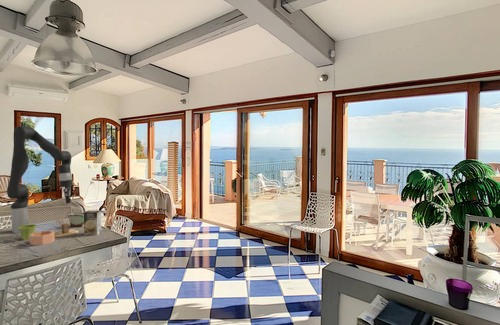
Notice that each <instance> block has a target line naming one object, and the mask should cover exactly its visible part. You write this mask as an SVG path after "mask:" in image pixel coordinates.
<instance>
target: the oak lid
mask: <svg viewBox="0 0 500 325" xmlns="http://www.w3.org/2000/svg"><path fill="white" fill-rule="evenodd" d="M78 231H79V229H78V230H77V229H70V223H62V224H61V230H59V231H56V232H54V233H55V238H63V237H68V238H70V237H69V236H72V237H74V236H73V235H76V234H78ZM76 236H77V235H76Z"/></svg>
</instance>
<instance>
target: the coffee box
mask: <svg viewBox="0 0 500 325" xmlns="http://www.w3.org/2000/svg"><path fill="white" fill-rule="evenodd" d="M101 212H102V211H101V210H86V211H84V212H83V213H84V226H83V232H84V233H83V236H98V235H100V234H102V213H101Z"/></svg>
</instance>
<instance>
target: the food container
mask: <svg viewBox="0 0 500 325" xmlns="http://www.w3.org/2000/svg"><path fill="white" fill-rule="evenodd" d="M67 216H68V220H69V228H71V227H72V228H84V212H74V213H69V214H68V215H67Z"/></svg>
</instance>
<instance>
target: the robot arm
mask: <svg viewBox="0 0 500 325" xmlns="http://www.w3.org/2000/svg"><path fill="white" fill-rule="evenodd" d="M26 140H30V141H33V142H35V143H36V144H37V145H38V146H39V148H40V149H41V150H42V151H44V152H46V154H47V153H48V154H49V155H50V156H51V157H52V158H53V159H54V160H55V161H57V162H61V164H60V165H58V168H57V169H58V170H57V171H58V179H59V187H60V188H63V190H62V192H63V195H64V199H65V203H66V204H70V203H71V188H70V187H72V186H73V185H74V184H73V177H72V176H73V175H72V173H71V172H72V171H71V163H72V155H71V152H70V151H68V150H60V148H59V147H58V146H57V145H55V144H54V143H53V142H51V141H49V140H48V139H46V138H45V137H44V136H43V135H42V134H40V133H39V132H38V131H37V130H36V129H34V128H33V127H31V126H25V125H17V126H16V127H15V128H14V130H13V148H12V150H13V152H12V158H11V159H12V160H11V168H10V174H9V181H8V185H7V189H6V195H7V198H9V199H10V200H15V199H16V200H15V201H14V202H12V203H11V205H10V214H11V233H13V234H21V232H20V229H19V227H21V226H24V225H29V214H28V213H29V211H28V210H29V209H28V204H29V196H30V194H29V193H30V192H29V188H28V186H27V185H25V184H20V181H21V179H22V177H23V175H25V173H26V172H27V170H28V168H29V163H30V162H29V160H30V158H29V155H28V152H27V151H26V147H25V145H26V144H25V143H26Z"/></svg>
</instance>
